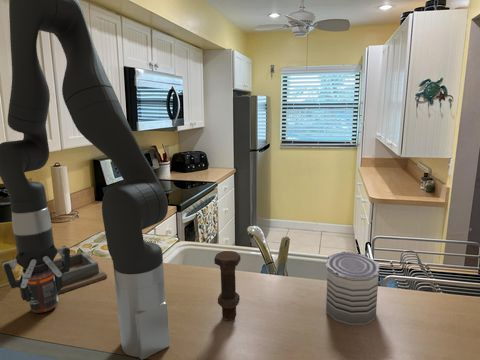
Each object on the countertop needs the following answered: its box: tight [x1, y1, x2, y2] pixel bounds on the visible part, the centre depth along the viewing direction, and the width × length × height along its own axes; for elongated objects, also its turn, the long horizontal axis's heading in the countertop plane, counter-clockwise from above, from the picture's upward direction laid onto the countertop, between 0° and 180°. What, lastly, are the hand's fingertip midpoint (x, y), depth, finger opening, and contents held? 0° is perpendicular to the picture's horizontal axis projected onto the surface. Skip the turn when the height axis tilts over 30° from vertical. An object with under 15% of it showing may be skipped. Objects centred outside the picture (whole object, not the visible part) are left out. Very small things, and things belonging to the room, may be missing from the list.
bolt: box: [213, 250, 241, 321], centre depth 79 cm, size 6×5×15 cm
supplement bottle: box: [27, 263, 59, 314], centre depth 85 cm, size 6×6×11 cm
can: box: [325, 251, 380, 326], centre depth 81 cm, size 11×11×12 cm
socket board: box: [53, 251, 108, 295], centre depth 102 cm, size 16×14×4 cm
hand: (43, 295), depth 85 cm, fingers closed on supplement bottle, 6 cm apart
